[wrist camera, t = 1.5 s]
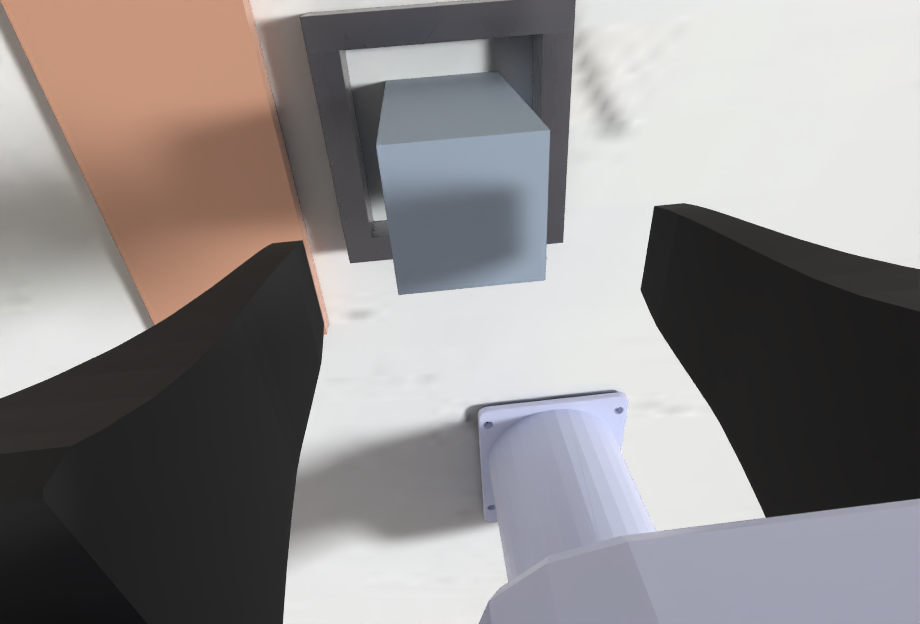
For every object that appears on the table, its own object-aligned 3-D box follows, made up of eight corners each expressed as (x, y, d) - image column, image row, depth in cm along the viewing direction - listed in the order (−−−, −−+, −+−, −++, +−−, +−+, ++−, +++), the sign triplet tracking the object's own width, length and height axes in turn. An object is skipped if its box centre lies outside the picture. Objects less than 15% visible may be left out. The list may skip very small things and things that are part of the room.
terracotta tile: (329, 323, 24) (326, 334, 23) (173, 339, 24) (166, 350, 23) (216, -133, 15) (207, -137, 14) (-37, -116, 15) (-58, -120, 14)
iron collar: (554, 227, 22) (562, 242, 21) (352, 246, 22) (350, 263, 21) (563, -8, 17) (575, -5, 16) (307, 13, 17) (299, 16, 16)
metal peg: (500, 179, 21) (545, 280, 14) (400, 189, 21) (398, 294, 14) (497, 71, 19) (550, 130, 12) (385, 80, 19) (375, 145, 12)
